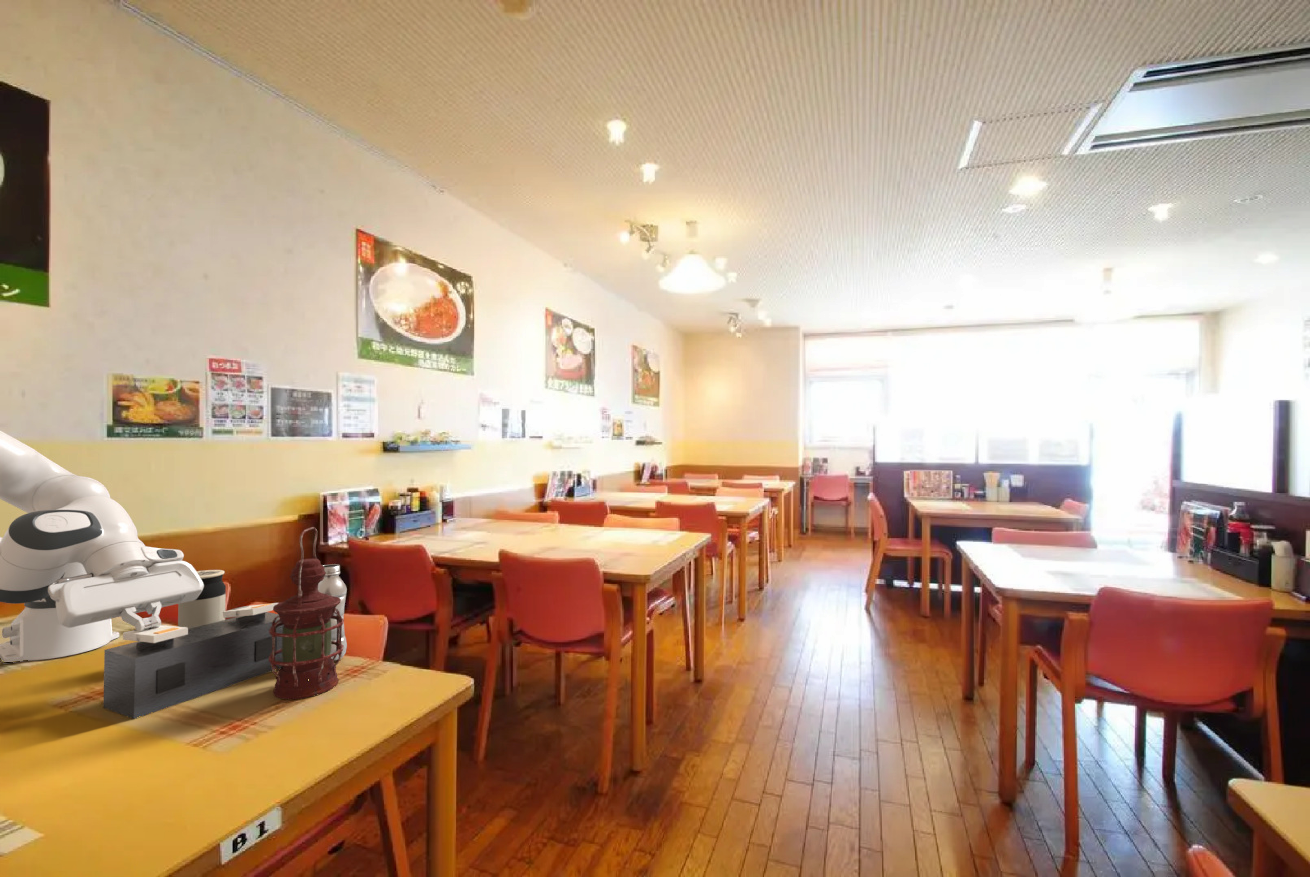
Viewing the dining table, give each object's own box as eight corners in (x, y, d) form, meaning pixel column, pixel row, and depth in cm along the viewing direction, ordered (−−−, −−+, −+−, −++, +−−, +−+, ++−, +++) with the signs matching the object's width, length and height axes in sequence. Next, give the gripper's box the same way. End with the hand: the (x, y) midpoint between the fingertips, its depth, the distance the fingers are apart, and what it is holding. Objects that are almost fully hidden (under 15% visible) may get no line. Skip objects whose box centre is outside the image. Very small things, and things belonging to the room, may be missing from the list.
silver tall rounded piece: (331, 667, 116) (332, 569, 117) (303, 664, 117) (304, 568, 118) (353, 656, 122) (354, 563, 123) (326, 653, 124) (328, 562, 124)
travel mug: (223, 658, 121) (224, 574, 121) (174, 666, 116) (176, 579, 117) (225, 648, 127) (227, 568, 128) (180, 655, 123) (181, 572, 123)
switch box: (103, 707, 98) (104, 644, 98) (260, 657, 122) (261, 606, 122) (135, 719, 94) (136, 652, 94) (291, 665, 117) (292, 611, 118)
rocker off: (223, 617, 115) (222, 611, 115) (249, 611, 119) (248, 605, 120) (253, 615, 111) (252, 608, 111) (279, 608, 115) (278, 602, 116)
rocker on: (123, 639, 100) (122, 631, 100) (157, 631, 105) (157, 624, 105) (153, 643, 96) (153, 635, 96) (188, 634, 101) (187, 626, 101)
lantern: (330, 698, 102) (332, 531, 102) (254, 705, 99) (257, 533, 100) (352, 672, 113) (353, 523, 114) (284, 677, 111) (286, 524, 112)
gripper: (50, 569, 95) (79, 635, 91) (190, 548, 114) (220, 602, 110) (37, 593, 97) (65, 659, 93) (178, 569, 115) (206, 622, 111)
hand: (150, 628), depth 101 cm, fingers closed, pressing on rocker on
